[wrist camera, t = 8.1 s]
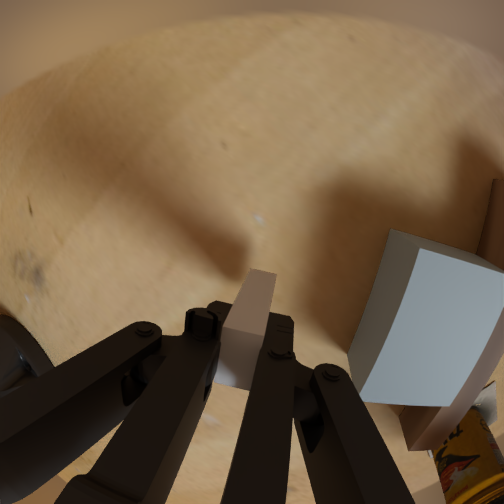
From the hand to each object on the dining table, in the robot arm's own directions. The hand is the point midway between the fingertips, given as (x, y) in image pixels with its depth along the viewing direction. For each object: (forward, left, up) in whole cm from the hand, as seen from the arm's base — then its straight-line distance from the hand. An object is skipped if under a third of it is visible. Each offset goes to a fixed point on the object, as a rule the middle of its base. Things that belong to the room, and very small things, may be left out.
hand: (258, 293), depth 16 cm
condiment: (+22, -11, -2) cm, 25 cm away
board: (+15, 0, -2) cm, 15 cm away
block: (+10, +1, -2) cm, 10 cm away
